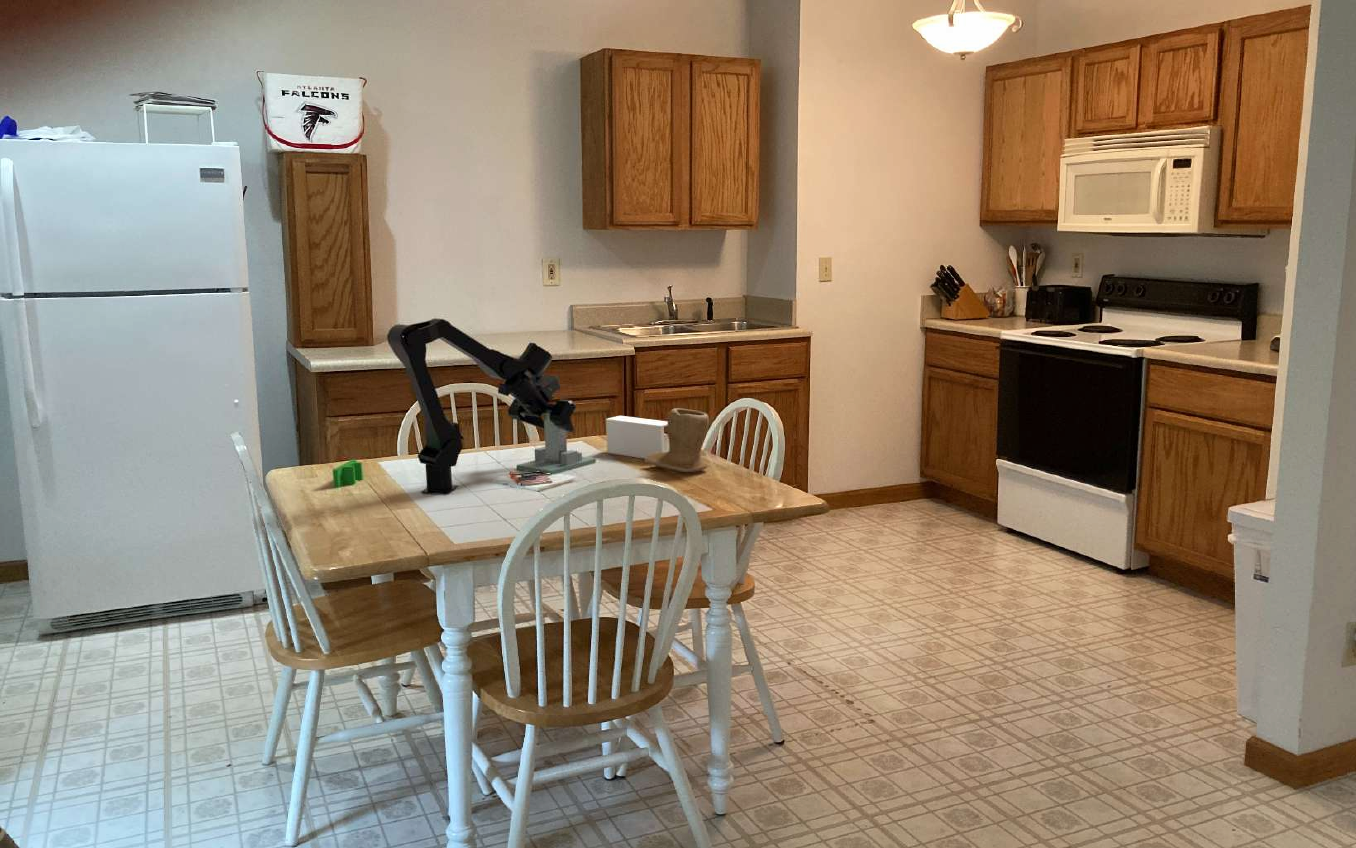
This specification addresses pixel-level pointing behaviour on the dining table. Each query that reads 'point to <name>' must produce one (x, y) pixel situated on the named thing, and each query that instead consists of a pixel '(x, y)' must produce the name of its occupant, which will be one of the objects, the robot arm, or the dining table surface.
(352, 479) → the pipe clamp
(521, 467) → the socket plate
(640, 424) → the white rectangular box
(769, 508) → the dining table surface
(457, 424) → the robot arm
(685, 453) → the fuzzy boot
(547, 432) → the bar
